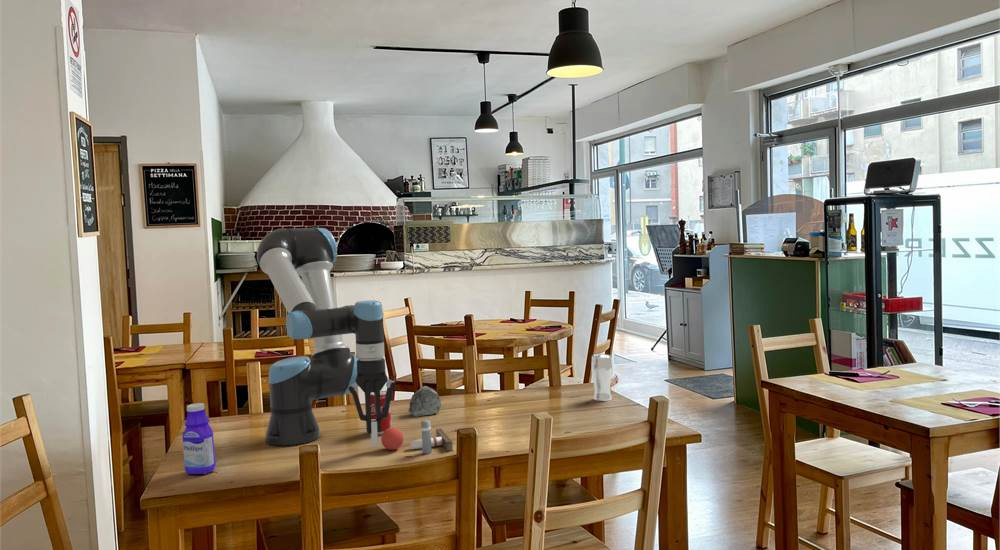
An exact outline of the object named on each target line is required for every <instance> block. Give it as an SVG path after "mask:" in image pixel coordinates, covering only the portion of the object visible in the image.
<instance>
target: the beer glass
mask: <svg viewBox="0 0 1000 550" xmlns="http://www.w3.org/2000/svg"><path fill="white" fill-rule="evenodd" d="M612 375H613V362H612V355H611V354H605V353H603V354H601V353H600V354H599V353H598V354H597V353H596V354H592V355H591V376H592V382H593V386H594V394H593V400H594V401H595V402H596V401H597V402H610V401H611V400H612V394H611V383H612V377H613V376H612Z"/></svg>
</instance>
